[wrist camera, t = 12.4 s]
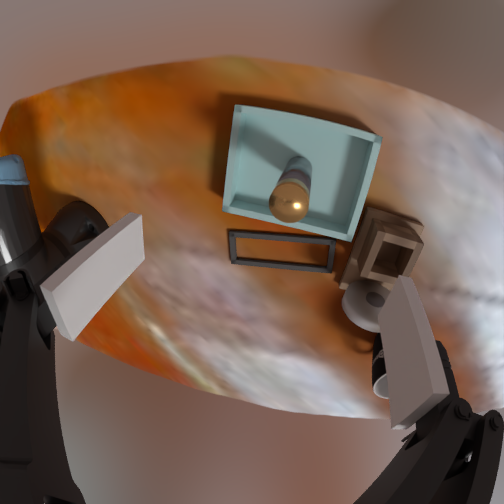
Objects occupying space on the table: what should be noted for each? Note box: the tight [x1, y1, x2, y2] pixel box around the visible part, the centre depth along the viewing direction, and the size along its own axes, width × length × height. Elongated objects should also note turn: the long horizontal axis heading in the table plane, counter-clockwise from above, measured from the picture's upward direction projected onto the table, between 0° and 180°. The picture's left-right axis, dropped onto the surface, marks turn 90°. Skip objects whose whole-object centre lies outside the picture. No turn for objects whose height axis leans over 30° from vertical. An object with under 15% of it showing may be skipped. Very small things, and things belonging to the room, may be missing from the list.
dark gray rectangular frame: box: [229, 230, 336, 273], centre depth 37 cm, size 14×5×1 cm, turn 92°
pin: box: [269, 156, 312, 223], centre depth 25 cm, size 3×3×12 cm
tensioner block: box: [339, 206, 424, 333], centre depth 30 cm, size 8×12×9 cm, turn 172°
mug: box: [372, 333, 389, 399], centre depth 36 cm, size 12×9×10 cm
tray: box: [222, 105, 382, 242], centre depth 29 cm, size 16×13×3 cm
